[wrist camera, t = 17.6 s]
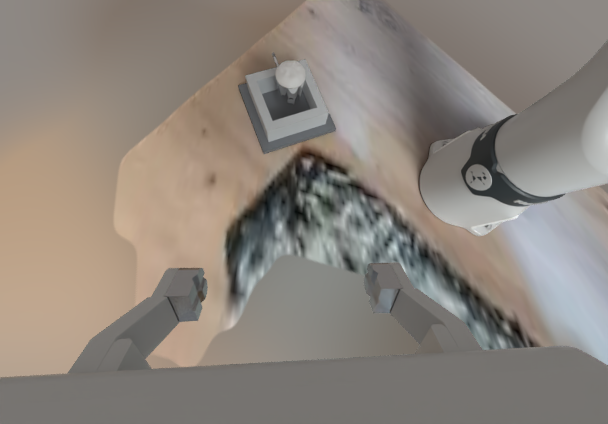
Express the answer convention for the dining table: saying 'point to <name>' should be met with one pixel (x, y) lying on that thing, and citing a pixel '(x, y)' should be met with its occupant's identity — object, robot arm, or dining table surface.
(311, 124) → the sleeve housing
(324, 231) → the dining table surface
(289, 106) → the milkshake
